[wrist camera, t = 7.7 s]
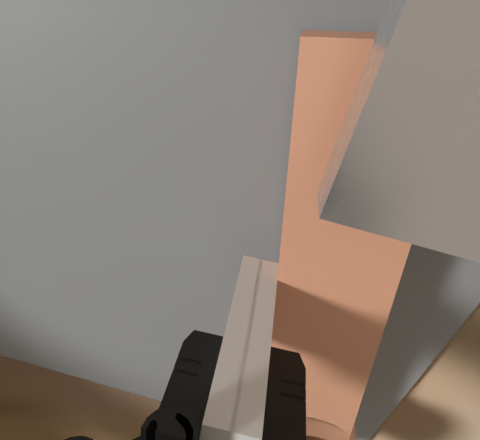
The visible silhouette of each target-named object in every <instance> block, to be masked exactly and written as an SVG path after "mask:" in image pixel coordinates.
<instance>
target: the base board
mask: <svg viewBox="0 0 480 440" xmlns="http://www.w3.org/2000/svg"><path fill="white" fill-rule="evenodd" d="M388 2H389V0H0V355H1V356H5V357H8V358H12V359H15V360H19V361H22V362H26V363H29V364H32V365H36V366H39V367H43V368H46V369H50V370H53V371H57V372H60V373H64V374H67V375H71V376H74V377H77V378H81V379H84V380H88V381H91V382H95V383H98V384H102V385H105V386H109V387H112V388H116V389H119V390H122V391H126V392H129V393H133V394H136V395H140V396H143V397H147V398H150V399H154V400H157V401H162V398H163V396H164V393H165V390H166V387H167V385H168V382H169V379H170V376H171V374H172V371H173V368H174V365H175V363H176V360H177V358H178V354H179V352H180V349H181V346H182V343H183V341H184V340H185V339H186V338H187V337H188V336H189V335H190V334H191V333H192V332H193V330H197V331H202V332H206V333H210V334H215V335H219V336H223V337H224V333H225V328H226V324H227V320H228V316H229V312H230V308H231V304H232V300H233V296H234V292H235V288H236V284H237V279H238V275H239V271H240V267H241V263H242V259H243V255H244V256H249V257H253V258H258V259H262V260H267V261H271V262H276V263H279V256H280V245H281V235H282V224H283V214H284V203H285V193H286V182H287V172H288V161H289V151H290V140H291V129H292V119H293V108H294V98H295V87H296V77H297V66H298V56H299V45H300V36H301V31H302V30H324V31H354V32H377V31H378V29H379V26H380V23H381V21H382V18H383V15H384V13H385V10H386V8H387V5H388ZM479 303H480V263H479V262H475V261H472V260H468V259H465V258H461V257H457V256H454V255H450V254H446V253H443V252H439V251H435V250H432V249H428V248H424V247H421V246H417V245H413V244H411V247H410V251H409V254H408V257H407V260H406V263H405V266H404V269H403V273H402V276H401V279H400V282H399V285H398V288H397V291H396V294H395V298H394V301H393V304H392V307H391V310H390V313H389V316H388V319H387V323H386V326H385V329H384V332H383V335H382V338H381V341H380V344H379V348H378V351H377V354H376V357H375V360H374V363H373V366H372V369H371V373H370V376H369V379H368V382H367V385H366V388H365V391H364V394H363V398H362V401H361V404H360V407H359V410H358V413H357V416H356V419H355V431H356V440H370V439H371V438H372V436H373V435H374V434H375V433H376V431H377V430H378V429H379V428H380V426H381V425H382V424H383V423H384V421H385V420H386V419H387V418H388V416H389V415H390V414H391V413H392V411H393V410H394V409H395V408H396V406H397V405H398V404H399V403H400V401H401V400H402V399H403V398H404V396H405V395H406V394H407V393H408V391H409V390H410V389H411V388H412V386H413V385H414V384H415V383H416V382H417V380H418V379H419V378H420V377H421V375H422V374H423V373H424V372H425V370H426V369H427V368H428V367H429V365H430V364H431V363H432V362H433V360H434V359H435V358H436V357H437V355H438V354H439V353H440V352H441V350H442V349H443V348H444V347H445V345H446V344H447V343H448V342H449V340H450V339H451V338H452V337H453V335H454V334H455V333H456V332H457V330H458V329H459V328H460V327H461V326H462V324H463V323H464V322H465V321H466V319H467V318H468V317H469V316H470V314H471V313H472V312H473V311H474V309H475V308H476V307H477V306H478V304H479Z"/></svg>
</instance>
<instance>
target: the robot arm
mask: <svg viewBox="0 0 480 440" xmlns="http://www.w3.org/2000/svg"><path fill="white" fill-rule="evenodd" d="M278 266H279V263H276V262H271V261H267V260H262V259H258V258H253V257H249V256H244V255H243V259H242V263H241V267H240V271H239V275H238V279H237V284H236V288H235V292H234V296H233V300H232V304H231V308H230V312H229V316H228V320H227V324H226V328H225V333H224V337H223V336H219V335H215V334H210V333H206V332H202V331H197V330H193V332H192V333H191V334H190V335H189V336H188V337H187V338H186V339H185V340H184V341H183V343H182V346H181V349H180V352H179V354H178V358H177V360H176V363H175V365H174V368H173V371H172V374H171V376H170V379H169V382H168V385H167V387H166V390H165V393H164V396H163V398H162V401H161V404H160V407H159V409H158V410H156V411H155V412H154V413H152V414H151V415H150V416H149V417H147V419H146V421H145V422H144V424H143V425H142V427H141V435H140V436H139V437H137V438H135V439H133V440H306V388H305V386H306V368H305V365H304V363H303V361H302V358H301V356H300V354H299V353H297V352H293V351H288V350H284V349H280V348H275V347H271V341H272V330H273V320H274V310H275V299H276V289H277V277H278ZM65 440H93V439H91V438H88V437H84V436H76V437H69V438H67V439H65Z"/></svg>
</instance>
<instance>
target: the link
mask: <svg viewBox="0 0 480 440" xmlns="http://www.w3.org/2000/svg"><path fill="white" fill-rule="evenodd" d="M376 34H377V32H354V31H324V30H302V31H301V36H300V45H299V56H298V66H297V77H296V87H295V98H294V108H293V119H292V129H291V140H290V151H289V161H288V172H287V182H286V193H285V203H284V214H283V224H282V235H281V245H280V256H279V266H278V277H277V289H276V299H275V310H274V320H273V330H272V341H271V347H275V348H280V349H284V350H288V351H293V352H297V353H299V354H300V356H301V358H302V361H303V363H304V365H305V368H306V386H305V388H306V440H356V431H355V419H356V416H357V413H358V410H359V407H360V404H361V401H362V398H363V394H364V391H365V388H366V385H367V382H368V379H369V376H370V373H371V369H372V366H373V363H374V360H375V357H376V354H377V351H378V348H379V344H380V341H381V338H382V335H383V332H384V329H385V326H386V323H387V319H388V316H389V313H390V310H391V307H392V304H393V301H394V298H395V294H396V291H397V288H398V285H399V282H400V279H401V276H402V273H403V269H404V266H405V263H406V260H407V257H408V254H409V251H410V247H411V244H410V243H406V242H403V241H399V240H395V239H392V238H388V237H384V236H381V235H377V234H373V233H370V232H366V231H362V230H359V229H355V228H352V227H348V226H344V225H341V224H337V223H333V222H330V221H326V220H322V219H319V208H318V187H319V185H320V182H321V179H322V177H323V174H324V171H325V169H326V166H327V163H328V161H329V158H330V156H331V153H332V150H333V148H334V145H335V142H336V140H337V137H338V134H339V132H340V129H341V126H342V124H343V121H344V119H345V116H346V113H347V111H348V108H349V105H350V103H351V100H352V97H353V95H354V92H355V89H356V87H357V84H358V82H359V79H360V76H361V74H362V71H363V68H364V66H365V63H366V60H367V58H368V55H369V52H370V50H371V47H372V45H373V42H374V39H375V37H376Z"/></svg>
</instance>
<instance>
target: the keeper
mask: <svg viewBox="0 0 480 440" xmlns="http://www.w3.org/2000/svg"><path fill="white" fill-rule="evenodd" d="M318 208H319V219H322V220H326V221H330V222H333V223H337V224H341V225H344V226H348V227H352V228H355V229H359V230H362V231H366V232H370V233H373V234H377V235H381V236H384V237H388V238H392V239H395V240H399V241H403V242H406V243H410V244H413V245H417V246H421V247H424V248H428V249H432V250H435V251H439V252H443V253H446V254H450V255H454V256H457V257H461V258H465V259H468V260H472V261H475V262H479V263H480V0H389V2H388V5H387V8H386V10H385V13H384V15H383V18H382V21H381V23H380V26H379V29H378V31H377V34H376V37H375V39H374V42H373V45H372V47H371V50H370V52H369V55H368V58H367V60H366V63H365V66H364V68H363V71H362V74H361V76H360V79H359V82H358V84H357V87H356V89H355V92H354V95H353V97H352V100H351V103H350V105H349V108H348V111H347V113H346V116H345V119H344V121H343V124H342V126H341V129H340V132H339V134H338V137H337V140H336V142H335V145H334V148H333V150H332V153H331V156H330V158H329V161H328V163H327V166H326V169H325V171H324V174H323V177H322V179H321V182H320V185H319V187H318Z"/></svg>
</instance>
